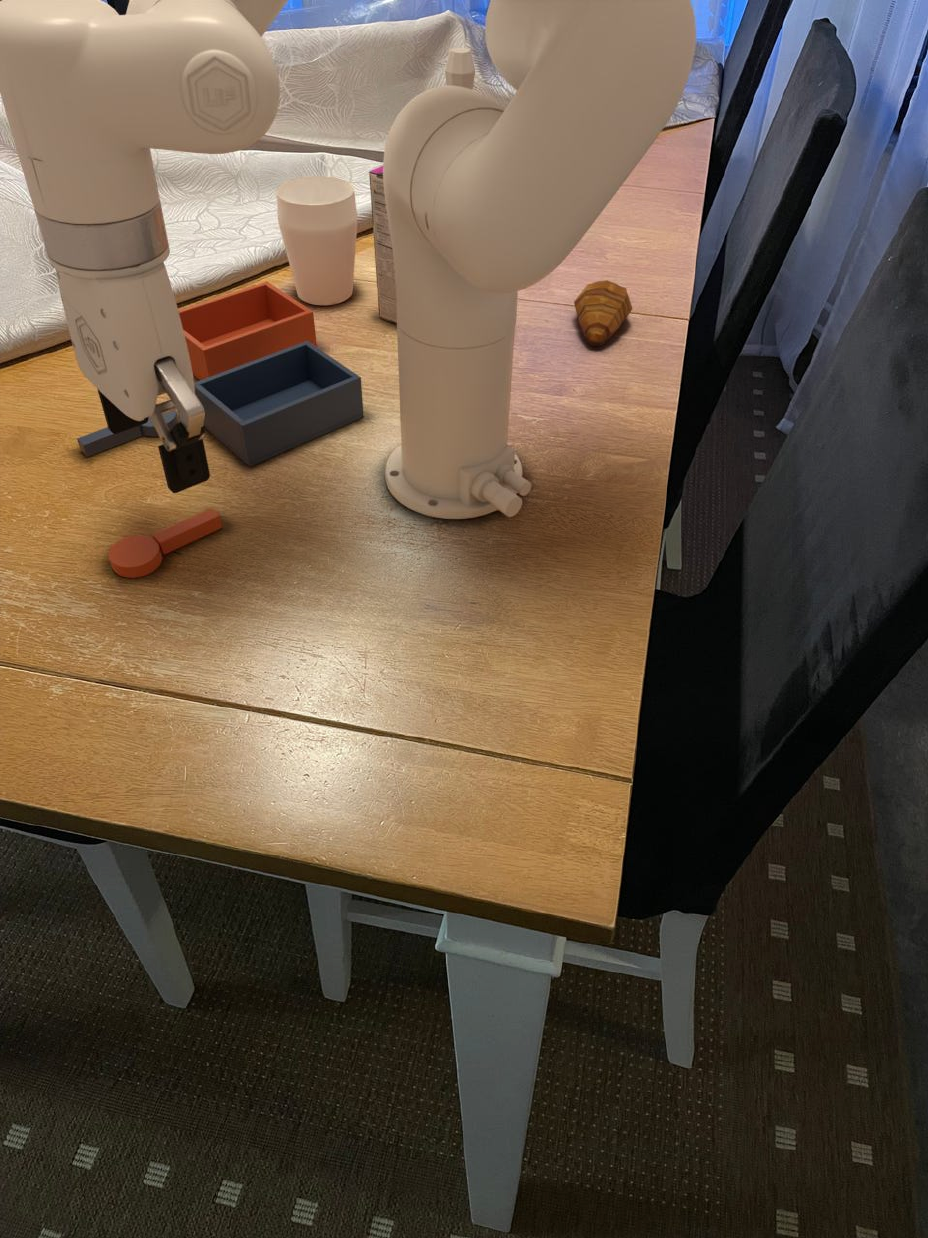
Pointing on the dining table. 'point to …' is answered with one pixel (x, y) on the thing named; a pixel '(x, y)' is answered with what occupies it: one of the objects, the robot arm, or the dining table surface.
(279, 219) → the cup
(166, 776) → the dining table surface
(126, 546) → the terracotta spoon
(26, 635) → the dining table surface
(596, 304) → the croissant
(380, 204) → the candy bar box
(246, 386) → the blue bin
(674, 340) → the dining table surface
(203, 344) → the terracotta bin
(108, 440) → the blue spoon
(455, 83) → the faceted bottle
